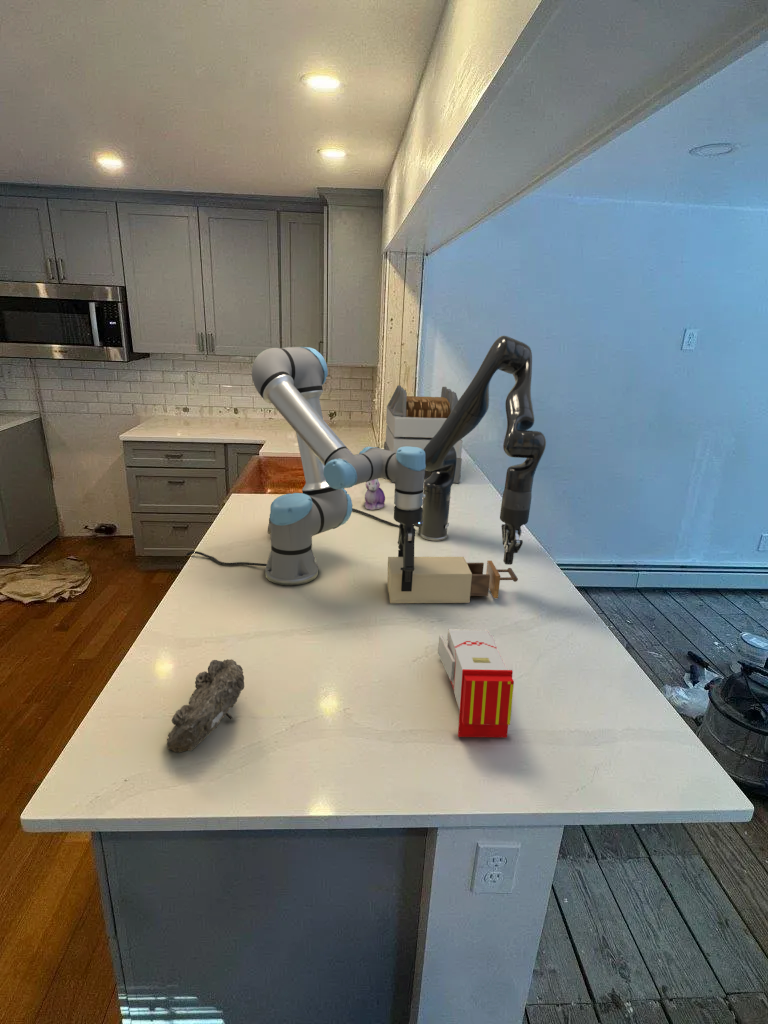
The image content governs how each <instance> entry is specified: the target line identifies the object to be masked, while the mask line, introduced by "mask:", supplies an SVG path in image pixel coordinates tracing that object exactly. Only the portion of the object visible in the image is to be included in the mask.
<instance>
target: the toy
mask: <svg viewBox="0 0 768 1024" xmlns="http://www.w3.org/2000/svg"><path fill="white" fill-rule="evenodd" d="M446 640H447V643H446V641H445V639H444V636H443V635H442V634H439V637H438V646H437V656H438V657H439V659H440V661H441V663H442V666H443V668H444V670H445V672H446V674H447V677H448V679H449V681H450V684H451V687H452V690H453V693H454V697H455V701H456V705H457V708H458V711H459V714H458V715H459V716H458V730H457V731H458V732H457V737H458V738H508V731H509V726H510V725H511V717H512V707H513V697H514V696H513V695H514V684H515V680H514V679H513V673H514V671H513V670H512V669H508V667H507V665H506V662H505V661H504V659H503V658H502V655H501V653H500V651H499V649H498V647H497V643H496V639H495V637H494V635H493V634H491V632H490V631H489V629H467V628H466V629H465V628H463V629H461V628H460V629H459V628H448V630H447V639H446Z"/></svg>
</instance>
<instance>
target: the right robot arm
mask: <svg viewBox="0 0 768 1024" xmlns="http://www.w3.org/2000/svg"><path fill="white" fill-rule="evenodd" d="M498 370H499V371H501V372H503V373H506V374H508V375H509V374H510V375H512V376H513V378H514V382H515V383H514V385H513V386H512V388H511V389H510V391H509V392H508V394H507V395H506V398H505V403H504V405H505V414H506V431H505V435H504V439H503V445H502V447H503V448H502V449H503V451H504V453H505V455H506V456H507V457H510V458H518V459H525V460H524V461H523V462H521V463H517V464H512V465H510V466H508V468H507V469H506V473H505V474H506V475H505V482H504V488H503V492H502V496H501V497H502V498H501V504H500V505H501V506H500V512H499V520H500V521H501V522H502V523H504V524H501V538H502V539H501V540H502V545H503V550H504V554H503V559H502V560H503V563H504V564H505V565H512V564H513V562H514V556H515V554H518V553H519V551H520V549H521V547H522V546H523V544H524V541H523V539H520V538H521V536H522V531H523V530H522V526H524V525H526V524H528V522H529V518H530V511H531V505H532V493H533V491H532V490H533V486H534V485H533V484H534V478H535V473H536V471H537V468H538V466H539V464H540V461H541V459H542V457H543V455H544V453H545V452H546V451H545V450H546V447H547V439H546V436H545V434H544V433H543V432H542V431H539V430H530V429H531V428H532V427H533V426H534V425H535V413H534V406H533V401H532V400H533V399H532V378H533V352H532V348H531V347H530V345H528V344H527V343H525V342H523V341H521V340H518V339H515V338H513V337H510V336H508V335H501V336H498V337H497V339H495V341H494V342H493V343H492V345H491V346H490V348H489V350H488V351H487V353H486V355H485V357H484V359H483V360H482V362H481V364H480V366H479V368H478V370H477V372H476V373H475V375H474V376H473V378H472V380H471V381H470V383H469V384H468V386H467V388H466V389H465V391H464V392H463V393H462V395H461V396H460V398H458V402H457V404H456V405H455V407H454V408H453V410H452V412H451V413H450V415H449V416H448V418H447V419H446V420H445V422H444V423H443V425H442V427H441V428H440V430H439V431H438V432H437V433H436V435H435V436H434V437H433V438H432V439H431V441H430V442H429V443H428V444H427V445H426V447H425V448H424V449H423V450H424V451H425V464H426V468H425V472H428V473H431V474H430V475H429V476H428V477H427V478H426V479H424V487H423V488H424V490H423V494H425V498H422V499H423V505H422V506H421V507H422V520H421V521H420V522H419V523H415V524H413V525H414V527H416V528H418V530H417V535H418V536H420V538H421V539H424V540H426V541H432V542H440V541H444V540H446V539H447V538H448V527H450V522H449V517H450V516H449V514H450V504H451V494H452V493H451V491H452V486H453V484H454V483H453V482H454V477H455V470H456V462H457V455H456V450H455V448H454V447H453V446H454V445H455V444H456V443H457V442H458V441H459V440H462V439H463V438H465V437H466V436H468V435H469V434H470V433H471V432H472V431H474V430H475V428H477V426H478V425H479V424H480V423H481V421H482V420H483V418H484V417H485V415H486V414H487V412H488V411H489V407H490V383H491V380H492V378H493V377H494V375H495V373H497V371H498ZM352 512H355V513H358V514H362V515H365V516H367V517H370V518H372V519H375V520H377V521H379V522H382V523H384V524H387V525H390V526H392V527H396V528H399V525H400V524H395V523H394V522H391V521H389V520H388V521H387V520H385V519H382V518H380V517H378V516H376V515H373V514H370V513H368V512H365V511H363V510H359V509H357V508H353V507H352Z"/></svg>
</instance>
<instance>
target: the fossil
mask: <svg viewBox="0 0 768 1024" xmlns="http://www.w3.org/2000/svg"><path fill="white" fill-rule="evenodd" d="M243 670H244V669H243V667H242V665H240V664H237V662H236V661H235V660H234V659H232V658H231V659H227V658H226V659H224V660H223V661H222V660H217V659H212V660H211V661H210V663H209V665H208V666H207V671H201V672H199V673H198V674H197V675H196V676H195V680H194V684H195V685H194V687H195V689H194V690H193V693H192V694H191V697H190V698H189V700H188V704H184V705H182V706H181V707H180V709H177V710H176V711H175V713H174V715H173V716H172V718H171V723H172V724H173V727H172V730H171V731H170V732H168V734H167V738H166V741H167V742H166V745H167V749H168V750H169V751H173V752H174V753H176V754H178V753H182V752H188V751H189V752H192V751H193V750H195V748H196V747H197V746H199V744H200V743H201V742H203V741H204V740H205V739H206V738H207V737H208V736H209V735H210V734H211V733H212V732H214V730H215V729H217V727H218V726H219V724H220V722H221V721H222V720H223V719H224V718H225V716H226V717H227V719H229V720H233V717H232V715H230V714H229V710H230V709H231V708H234V706H235V704H236V703H237V702H238V699H239V697H240V695H241V693H242V691H243V690H245V689H244V688H245V675H244V671H243Z"/></svg>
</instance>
